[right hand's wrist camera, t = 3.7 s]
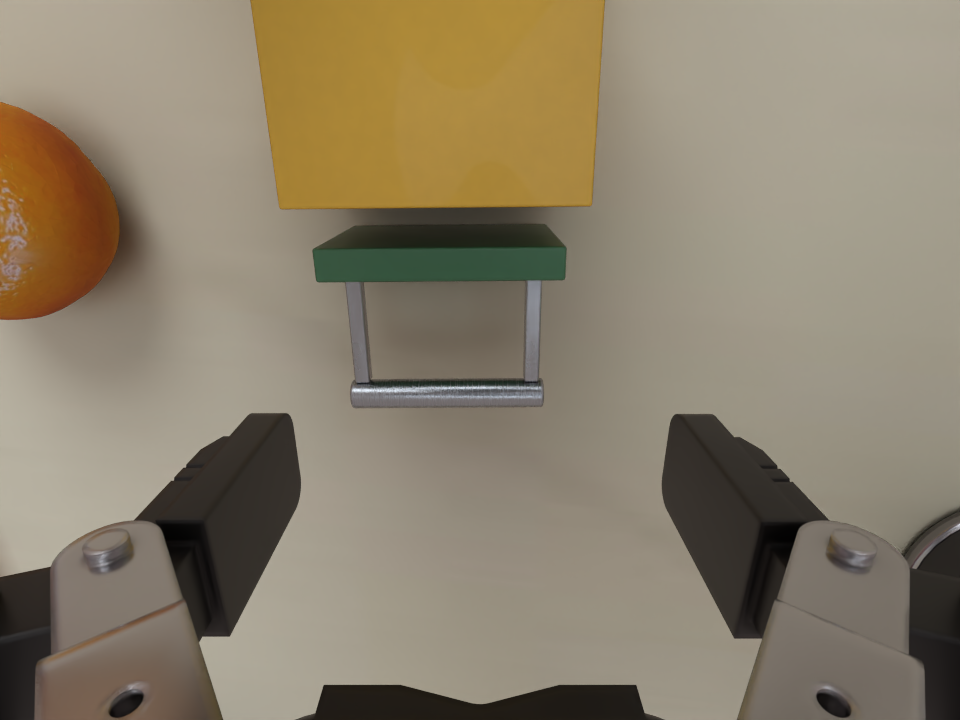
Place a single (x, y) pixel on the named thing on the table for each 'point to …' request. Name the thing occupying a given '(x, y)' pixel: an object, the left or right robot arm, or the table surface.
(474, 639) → the table surface
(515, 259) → the drawer
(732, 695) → the table surface
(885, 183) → the table surface
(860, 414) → the table surface
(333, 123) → the cabinet
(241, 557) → the right robot arm
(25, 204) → the fruit
